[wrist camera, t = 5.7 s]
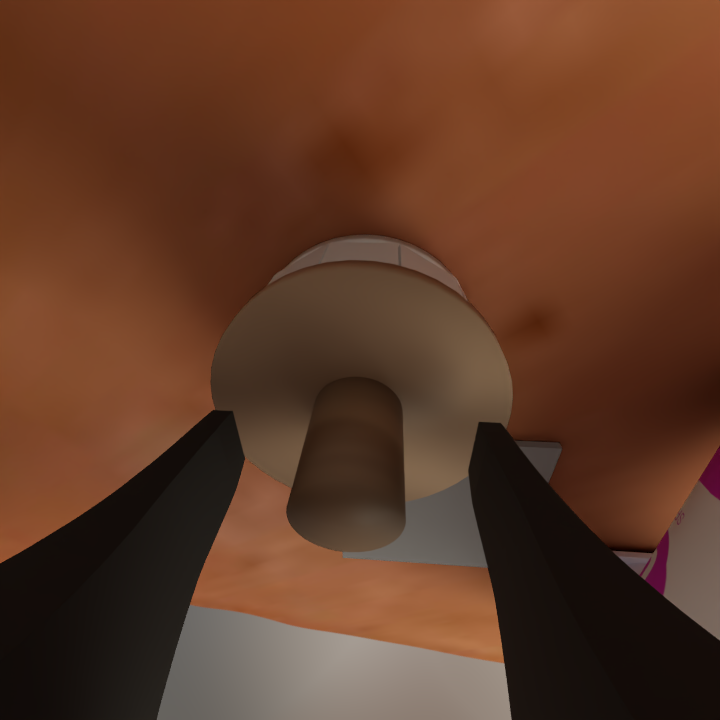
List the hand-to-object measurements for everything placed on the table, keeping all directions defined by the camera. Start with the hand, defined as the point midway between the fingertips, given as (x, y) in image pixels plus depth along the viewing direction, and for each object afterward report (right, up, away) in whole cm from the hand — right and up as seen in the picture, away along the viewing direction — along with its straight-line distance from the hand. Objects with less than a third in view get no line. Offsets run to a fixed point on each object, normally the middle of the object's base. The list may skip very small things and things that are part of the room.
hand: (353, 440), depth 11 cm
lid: (0, +1, +2) cm, 2 cm away
